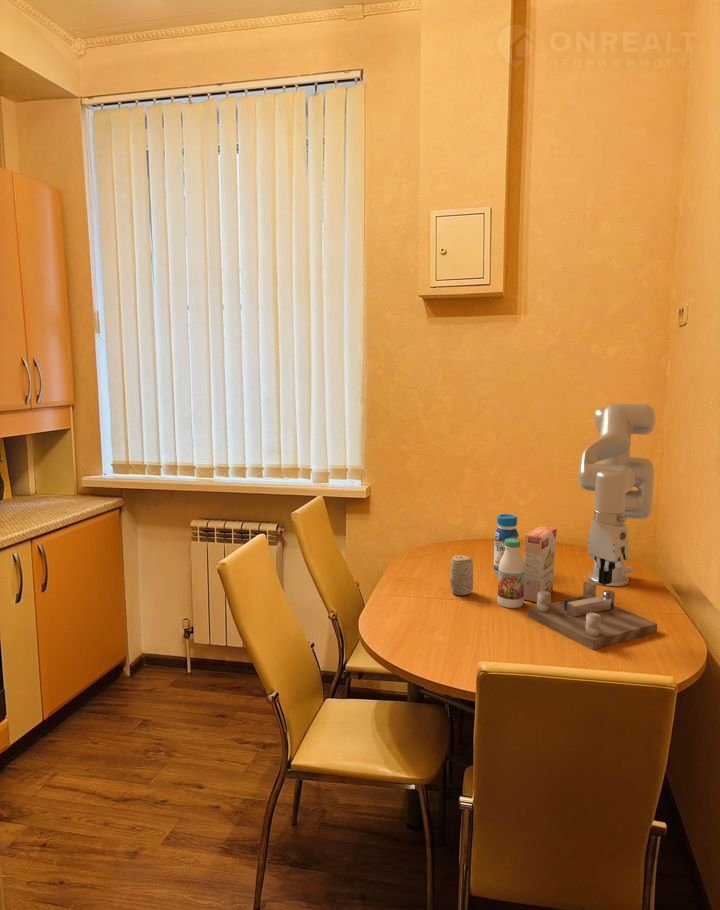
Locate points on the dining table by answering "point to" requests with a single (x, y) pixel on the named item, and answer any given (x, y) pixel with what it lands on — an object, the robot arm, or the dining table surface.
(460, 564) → the carving
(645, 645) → the dining table surface
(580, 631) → the brown board with pegs
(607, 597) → the hinged leg
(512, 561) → the milk bottle
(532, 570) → the cracker box
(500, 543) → the beverage bottle
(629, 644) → the dining table surface
